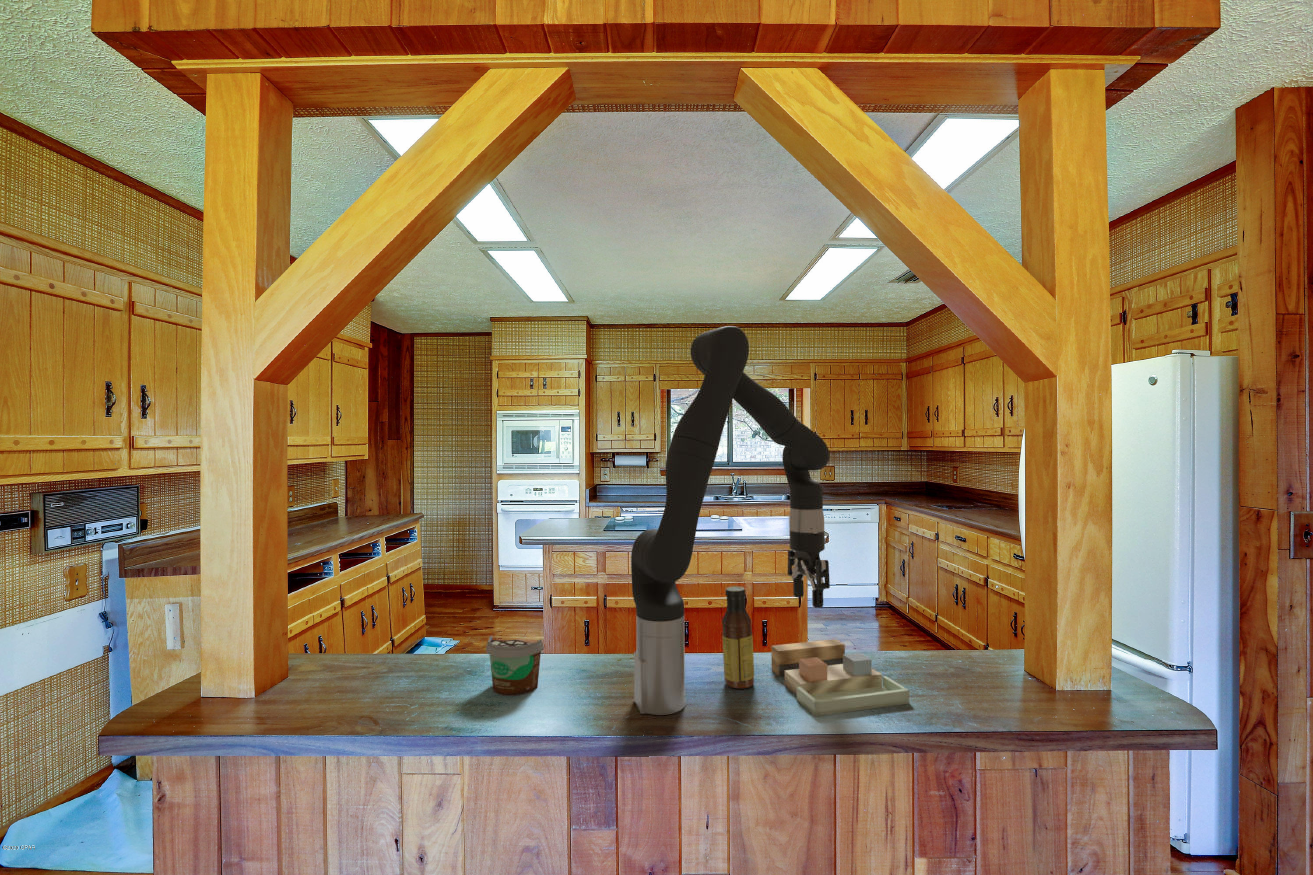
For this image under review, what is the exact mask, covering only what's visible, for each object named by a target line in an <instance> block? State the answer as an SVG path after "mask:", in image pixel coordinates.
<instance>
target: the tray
mask: <svg viewBox="0 0 1313 875" xmlns="http://www.w3.org/2000/svg"><path fill="white" fill-rule="evenodd" d="M796 701H797V702H798V703H800V705H801V706H802V707H804V708H805V709H806V710H807V711H808V712H810V713H811V714H812V715H813V717H820V716H826V715H827V716H828V715H836V714H841V713H850V712H857V711H863V710H865V711H866V710H870V709H871V710H872V709H878V708H879V709H880V708H885V707H893V706H901V705H907V704H908V705H909V704H910V690H909V689H908V688H906V687H904V686H903V685H901V684H900V683H898V682H896V681H895V680H893V679H891V678H890V677H888V676H886V675H885V676H882V686H879V687H871V688H863V689H856V690H848V691H840V692H832V693H824V694H816V695H810V694H809V693H807V692H806V691H805V690H804V689H803V688H801V687H797V695H796Z"/></svg>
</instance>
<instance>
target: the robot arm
mask: <svg viewBox="0 0 1313 875" xmlns="http://www.w3.org/2000/svg"><path fill="white" fill-rule="evenodd" d="M749 355H750V343H749V340H748V337H747V335H746V333H745V332H744V331H743V330H742V329H741V328H740V327H737V326H733V325H728V326H726V325H725V326H722V327H718V328H714V329H711V330H708V331H705V332H702V333H700V334H698V335H697V336H695V338H694V339H693V341H692V343H691V345H690V358H691V361H692V363H693V365H694V366H695V368H696V369H697V370H698V371H699V372H701V374H703V375H704V376H703V380H702V383H701V386H700V388H699V390H698V392H697V394H696V395H695V397H694V398H693V400H692V402H691V404H689V406H688V408H687V409H686V410H685V412H684V414H683V415H682V416H681V418H680V420H679V421H678V423H677V424H676V427H675V429H674V431H673V435H672V438H671V441H670V444H669V449H668V450H667V451H668V452H667V454H666V459H665V460H666V461H665V472H664V473H665V488H666V489H665V490H666V492H665V493H666V496H665V505H664V510H663V514H662V516H661V520H660V524H659V525H658V528H649V529H646V530H644V531H642V532H641V533H640V534H639V535H638V536H637V537H636V539H635V540H634V542H633V544H632V547H631V548H632V549H631V555H630V556H631V557H630V569H631V589H632V590H631V591H632V598H633V601H634V605H635V614H636V616H635V617H636V621H635V623H636V625H635V626H636V629H635V630H636V631H635V632H636V635H635V636H636V651H634V652H633V698H634V704H635V705H636V707H637V708H638V710H639V712H640V714H641V715H644V714H649V715H655V716H664V715H665V716H666V715H671V714H676V713H678V712H680V711H682V710H683V709H684V708H685V707H686V706H685V705H686V701H685V700H686V690H685V688H686V686H685V685H686V684H685V683H686V680H685V678H686V677H685V676H686V674H685V672H686V671H685V668H686V667H685V657H686V656H685V603H684V599H683V597H682V596H681V594H680V592H679V590H678V587H677V584H676V582H678V581H679V580H681V578H683V576H684V575H685V574H686V572H687V571H688V569H689V566H690V564H691V560H692V556H693V552H694V551H693V550H694V546H695V540H696V533H697V527H698V522H699V518H700V513H701V509H702V506H703V503H704V499H705V494H706V492H707V488H708V484H709V481H710V480H709V479H710V477H711V474H712V471H713V468H714V465H715V461H716V459H717V458H716V457H717V453H718V450H719V447H720V442H721V438H722V435H723V432H724V429H725V425H726V422H727V418H728V416H729V415H728V414H729V411H730V408H731V404H732V401H733V400H734V401H735V402H736V403H737V404H738V405H739V406H740V407H741V408H742V409H743V410H744V411H746V413H747V414H748V415H749V416H750V417H751V418H752V419H753V420H754V421H755V422H756V423H757V425H759V427H760V428H761V429H762V430H763V432H765V434H766V435H767V436H768V437H769V438H770V440H771V441H773V442H774V443H775V444H777V445H780V446H784V448H783V451H782V459H781V460H782V464H783V465H782V466H783V469H784V474H785V477H786V481H787V484H788V488H789V501H790V502H789V503H790V504H789V505H790V508H789V516H788V517H789V518H788V519H789V523H788V524H789V528H788V529H789V531H788V532H789V550H787V575H788V577H789V576H790V578H791V580H792V581H793V582H792V585H793V586H792V587H793V590H792V591H793V592H792V593H793V597H795V598H803V597H804V595H805V594H804V592H805V591H804V590H805V589H804V588H805V587H804V580H803V579H804V578H805V577H806V580H807V581H808V582H810V584H811V587H812V588H811V592H812V595H811V597H812V600H811V601H812V607H814V608H816V609H818V608H823V607H824V590H827V589H830V587H831V586H830V584H831V583H830V582H831V581H830V567H829V566H830V565H829V564H830V563H829V560H828V559H821V557H820V556H821V555H820V554H821V552H824V550H825V548H826V546H825V544H826V542H825V540H826V539H825V516H824V509H823V506H824V505H823V504H824V503H823V501H824V500H823V493H824V492H823V487H822V484H821V483H820V482H818V481H815V480H813V479H812V477H811V474H810V471H819V470H822V469H824V468H825V467H826V466H827V465H828V464H829V461H830V455H831V454H830V450H829V447H828V445H827V443H826V442H825V440H824V439H823V438H822V437H821V436H820V435H818V434H817V433H816V432H815V431H813V429H811V428H809V427H808V426H807V425H805V424H804V423H802V422H801V421H800V420H798V419H797V417H796V416H795V414H794V413H793V412H792V411H791V409H789V407H788V406H787V405H786V403H784V402H783V401H782V400H781V399H780V398H779V397H778V396H777V395H776V394H774V393H773V392H771V391H770V390H769V389H767V388H765V386H762V385H761V384H759V383H758V382H756V381H755V380H754V379H753V378H751V377H749V375H748V374H747V373H745V372H744V371H745V368H746V366H747V362H748V359H749ZM823 578H824V579H823Z"/></svg>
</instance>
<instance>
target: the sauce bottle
mask: <svg viewBox="0 0 1313 875" xmlns="http://www.w3.org/2000/svg"><path fill="white" fill-rule="evenodd" d="M725 596H726V612H724V615H723V616H722V619H721V625H722V627H721V628H722V633H721V634H722V636H721V637H722V656H723V677H724V681H725V684H726V685H727V686H728V687H729V688H733V689H738V690H742V689H743V690H745V689H749V688H751V687H752V686H754V683H755V663H754V662H755V660H754V659H755V658H754V641H753V630H752V620H751V619H752V618H751V617H750V616H749V613H748V612H747V609H746V605H745V604H746V603H745V602H746V601H745V600H746V599H745V596H746V588H745V587H744V586H738V585H737V586H735V585H734V586H729V587H726V588H725Z"/></svg>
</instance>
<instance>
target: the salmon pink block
mask: <svg viewBox="0 0 1313 875" xmlns="http://www.w3.org/2000/svg"><path fill="white" fill-rule="evenodd" d="M799 674H800V675H801V676H802V677H804V678H805V679H806V680H807V681H809V682H812V681H821V680H827V664H826V663H824V662H823V661H821V660H820V659H819V658H817V657H816V658H806V659H799Z"/></svg>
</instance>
